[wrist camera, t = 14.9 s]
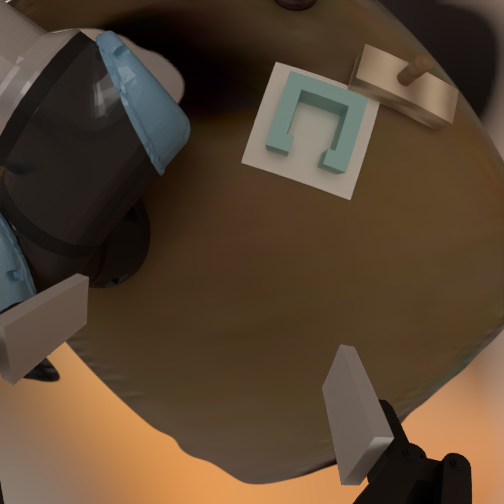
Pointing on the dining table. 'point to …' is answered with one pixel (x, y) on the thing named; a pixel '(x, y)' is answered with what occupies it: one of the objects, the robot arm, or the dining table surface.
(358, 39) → the dining table surface
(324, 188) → the felt mat
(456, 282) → the dining table surface
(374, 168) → the dining table surface
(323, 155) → the c link
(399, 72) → the hook stand
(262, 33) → the dining table surface
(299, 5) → the can
